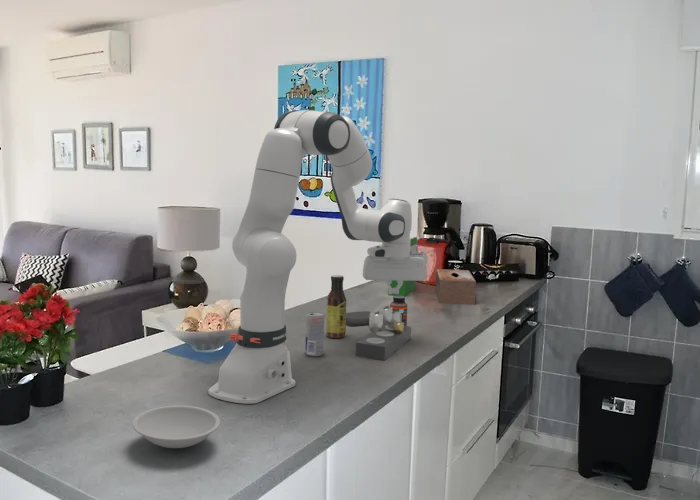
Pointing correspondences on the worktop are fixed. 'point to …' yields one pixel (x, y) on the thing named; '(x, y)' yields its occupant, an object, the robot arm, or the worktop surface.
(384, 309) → the knob mid
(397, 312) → the knob far
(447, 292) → the tissue box cover
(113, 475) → the worktop surface
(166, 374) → the worktop surface
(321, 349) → the energy drink
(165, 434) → the dish
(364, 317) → the spray bottle
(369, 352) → the mount
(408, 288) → the hardback book
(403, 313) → the supplement bottle
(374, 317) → the knob near
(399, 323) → the brass dome cylinder
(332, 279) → the sauce bottle
